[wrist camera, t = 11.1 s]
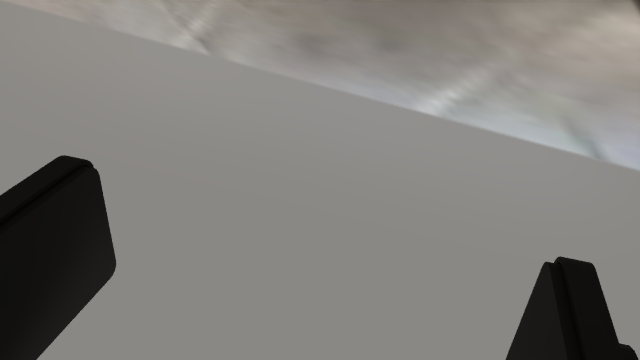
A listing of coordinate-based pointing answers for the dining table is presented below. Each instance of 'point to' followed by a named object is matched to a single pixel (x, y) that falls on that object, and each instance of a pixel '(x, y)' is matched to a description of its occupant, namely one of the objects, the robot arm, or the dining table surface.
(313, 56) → the dining table surface
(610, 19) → the dining table surface
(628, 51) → the dining table surface
